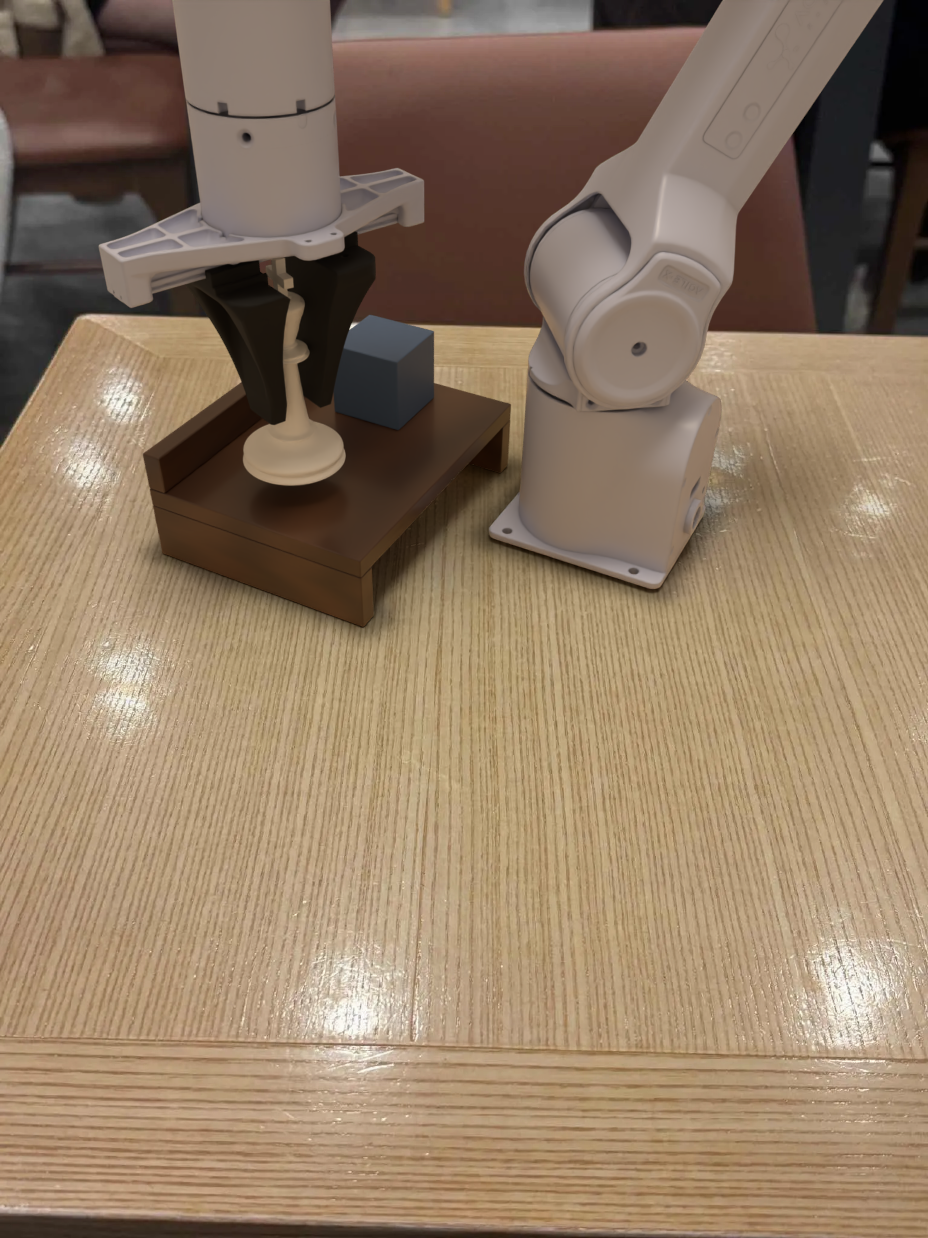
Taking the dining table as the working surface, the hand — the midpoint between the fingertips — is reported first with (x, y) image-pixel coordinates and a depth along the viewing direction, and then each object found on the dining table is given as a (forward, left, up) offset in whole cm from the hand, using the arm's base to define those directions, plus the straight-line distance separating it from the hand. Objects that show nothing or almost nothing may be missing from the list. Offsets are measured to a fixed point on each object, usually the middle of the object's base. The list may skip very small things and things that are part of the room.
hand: (290, 406), depth 51 cm
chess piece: (0, 0, -3) cm, 3 cm away
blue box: (0, -9, -4) cm, 9 cm away
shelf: (0, -4, -8) cm, 9 cm away
